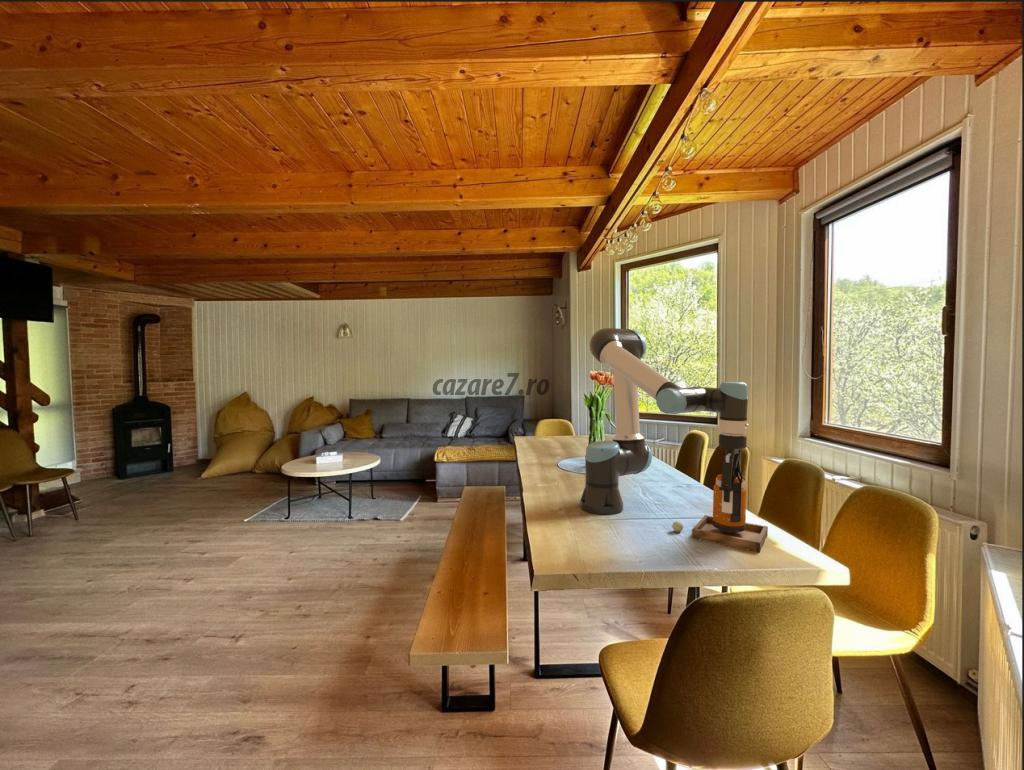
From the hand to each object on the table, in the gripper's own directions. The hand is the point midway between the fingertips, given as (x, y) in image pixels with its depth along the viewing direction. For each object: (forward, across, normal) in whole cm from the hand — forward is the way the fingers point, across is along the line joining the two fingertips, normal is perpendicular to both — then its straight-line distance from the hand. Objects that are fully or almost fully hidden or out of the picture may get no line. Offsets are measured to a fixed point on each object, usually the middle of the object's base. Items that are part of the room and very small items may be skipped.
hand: (730, 507), depth 141 cm
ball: (+9, -5, +14) cm, 17 cm away
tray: (+9, 0, 0) cm, 9 cm away
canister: (+7, 0, 0) cm, 7 cm away
